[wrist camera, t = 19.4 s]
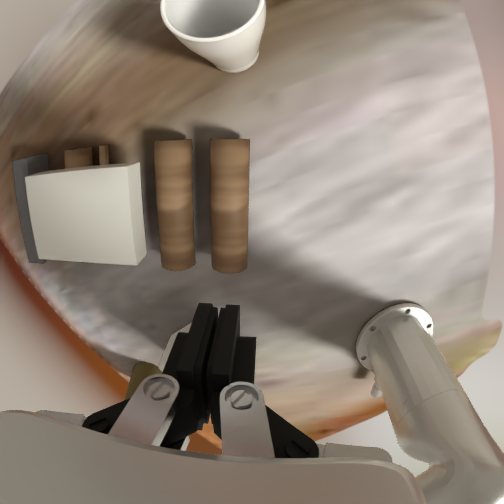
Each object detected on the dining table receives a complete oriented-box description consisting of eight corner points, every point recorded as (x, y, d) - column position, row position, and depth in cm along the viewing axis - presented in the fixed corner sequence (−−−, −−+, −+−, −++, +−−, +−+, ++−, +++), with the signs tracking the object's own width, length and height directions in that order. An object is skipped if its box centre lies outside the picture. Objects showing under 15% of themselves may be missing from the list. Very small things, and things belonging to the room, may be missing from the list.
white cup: (202, 80, 29) (154, 48, 15) (204, 26, 26) (162, -34, 12) (265, 80, 28) (265, 41, 14) (266, 25, 26) (266, -42, 12)
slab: (146, 253, 32) (136, 265, 29) (52, 249, 33) (38, 258, 30) (139, 162, 28) (127, 166, 25) (40, 172, 29) (24, 177, 26)
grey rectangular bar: (60, 250, 37) (43, 263, 33) (46, 249, 37) (29, 262, 33) (47, 153, 32) (26, 158, 28) (33, 155, 32) (12, 161, 28)
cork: (157, 360, 44) (136, 413, 34) (172, 386, 46) (156, 437, 36) (127, 363, 45) (103, 411, 35) (143, 387, 47) (124, 435, 37)
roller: (108, 254, 37) (89, 265, 33) (92, 250, 38) (73, 259, 35) (97, 146, 31) (74, 150, 28) (81, 148, 32) (58, 152, 29)
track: (248, 258, 36) (246, 274, 33) (81, 251, 37) (66, 263, 33) (250, 138, 31) (248, 140, 27) (69, 149, 32) (50, 153, 28)
